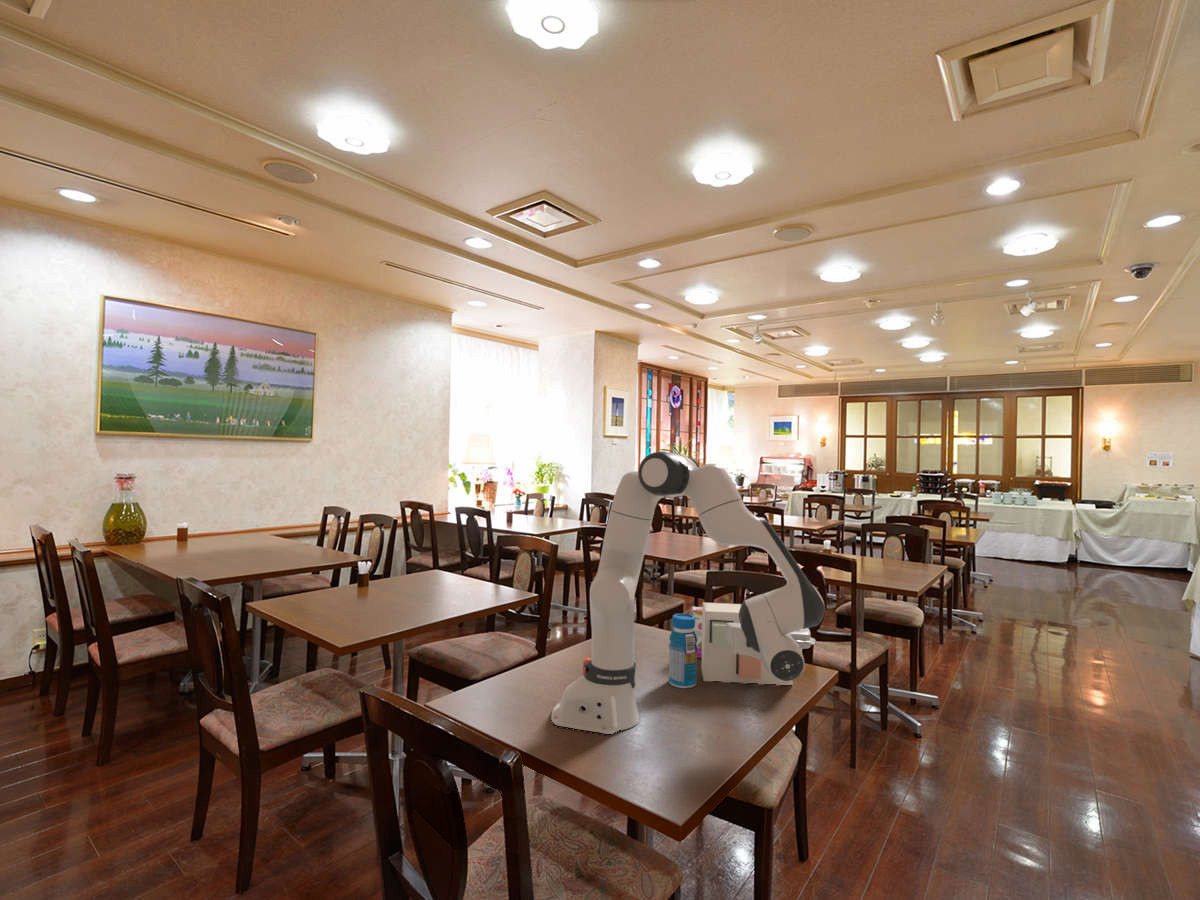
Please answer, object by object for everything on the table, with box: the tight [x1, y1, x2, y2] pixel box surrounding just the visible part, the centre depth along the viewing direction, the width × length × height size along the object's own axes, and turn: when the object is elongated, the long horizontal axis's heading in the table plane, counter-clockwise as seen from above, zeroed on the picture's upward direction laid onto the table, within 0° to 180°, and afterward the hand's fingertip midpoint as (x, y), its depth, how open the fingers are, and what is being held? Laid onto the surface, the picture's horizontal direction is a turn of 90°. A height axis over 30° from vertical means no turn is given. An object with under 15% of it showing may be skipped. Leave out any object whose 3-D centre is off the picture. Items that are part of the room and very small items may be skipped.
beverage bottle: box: [668, 613, 698, 689], centre depth 173 cm, size 8×8×20 cm
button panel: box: [700, 602, 794, 686], centre depth 180 cm, size 26×10×21 cm, turn 84°
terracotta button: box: [736, 654, 761, 679], centre depth 173 cm, size 6×6×6 cm
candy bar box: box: [690, 606, 703, 660], centre depth 196 cm, size 11×5×16 cm, turn 84°
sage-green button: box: [711, 620, 733, 647], centre depth 174 cm, size 6×6×6 cm
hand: (762, 625), depth 152 cm, fingers closed
